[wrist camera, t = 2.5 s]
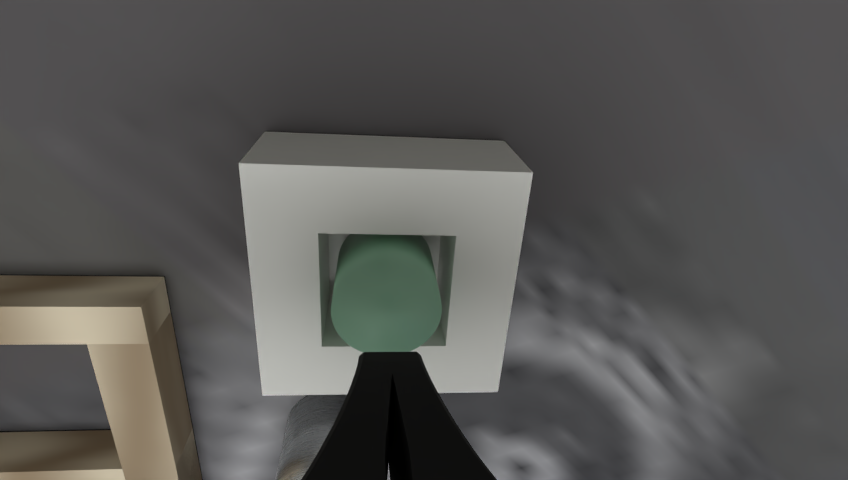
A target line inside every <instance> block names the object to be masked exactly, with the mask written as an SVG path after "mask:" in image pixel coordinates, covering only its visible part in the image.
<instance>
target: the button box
mask: <svg viewBox="0 0 848 480" xmlns="http://www.w3.org/2000/svg"><path fill="white" fill-rule="evenodd" d="M239 172H240V182H241V192H242V202H243V211H244V221H245V231H246V241H247V250H248V260H249V270H250V280H251V289H252V299H253V309H254V319H255V328H256V338H257V348H258V357H259V367H260V377H261V387H262V396H276V395H342V394H348V391H349V389H350V386H351V383H352V381H353V378H354V375H355V372H356V368H357V364H358V359H359V356H360V355H361V354H362V353H363V352H360V351H358V350H356V349H354V348H353V347H351V346H350V345H348V344H347V343H346V342H345V341H344V340H343V339H342V338H341V337H340V336H339V335H338V333H337V331H336V330H335V328H334V325H333V322H332V319H331V303H332V296H333V289H334V282H335V275H336V268H337V261H338V255H339V251H340V248H341V246H342V244H343V242H344V240H345V239H346V238H347V236H348V235H349V234H382V235H422V236H423V237H424V239H425V240H426V242H427V244H428V246H429V248H430V252H431V256H432V261H433V265H434V270H435V275H436V279H437V284H438V288H439V293H440V298H441V303H442V314H441V319H440V322H439V325H438V327H437V329H436V330H435V332H434V333H433V335H432V336H431V337H430V338H429V339H428V340H427V341H426V342H425V343H424V344H422V345H421V346H419V347H418V348H416V349H414V350H412V351H410V352H418V353H419V354H420V355H421V357H422V360H423V362H424V365H425V367H426V369H427V372H428V374H429V376H430V378H431V380H432V382H433V384H434V386H435V388H436V390H437V392H438V393H473V392H498V388H499V381H500V375H501V369H502V363H503V357H504V350H505V344H506V338H507V332H508V326H509V319H510V313H511V307H512V301H513V294H514V288H515V282H516V276H517V270H518V263H519V257H520V251H521V245H522V239H523V232H524V226H525V220H526V214H527V207H528V201H529V195H530V189H531V183H532V176H533V172H532V171H531V170H530V169H529V168H528V166H527V165H526V164H525V163H524V162H523V161H522V160H521V159H520V158H519V156H518V155H517V154H516V153H515V152H514V151H513V150H512V149H511V148H510V146H509V145H508V144H507V143H506V142H505V141H498V140H472V139H446V138H420V137H394V136H368V135H342V134H316V133H290V132H264V133H263V134H262V136H261V137H260V138H259V139H258V140H257V142H256V143H255V144H254V145H253V147H252V148H251V149H250V150H249V151H248V153H247V154H246V155H245V156H244V157H243V159H242V160H241V161H240V162H239Z"/></svg>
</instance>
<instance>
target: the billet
mask: <svg viewBox="0 0 848 480" xmlns="http://www.w3.org/2000/svg"><path fill="white" fill-rule="evenodd" d="M346 396H347V394H342V395H308V396H306V397H305V398H303V399H302V400H300V401H299V402H298V403H297V404H296V405H295V406H294V407H293V409H292V410H291V412H290V415H289V418H288V422H287V427H286V432H285V437H284V441H283V446H282V451H281V456H280V461H279V465H278V470H277V475H276V480H301V479H302V478H303V476H304V474H305V473H306V471H307V470H308V468H309V467H310V465H311V463H312V462H313V460H314V458H315V457H316V455H317V453H318V452H319V450H320V448H321V446H322V444H323V442H324V441H325V439H326V437H327V435H328V433H329V431H330V430H331V428H332V426H333V424H334V422H335V420H336V418H337V416H338V414H339V411H340V409H341V407H342V405H343V403H344V400H345V398H346Z"/></svg>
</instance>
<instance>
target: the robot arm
mask: <svg viewBox="0 0 848 480" xmlns="http://www.w3.org/2000/svg"><path fill="white" fill-rule="evenodd" d="M388 461H389V470H390V479H391V480H497V479H496V478H495V477H494V476H493V474H492V473H491V472H490V471H489V469H488V468H487V467H486V466H485V464H484V463H483V462H482V460H481V459H480V458H479V456H478V455H477V454H476V452H475V451H474V449H473V448H472V446H471V445H470V444H469V442H468V441H467V439H466V438H465V436H464V435H463V433H462V432H461V430H460V429H459V427H458V426H457V424H456V423H455V421H454V419H453V418H452V416H451V414H450V413H449V411H448V409H447V408H446V406H445V404H444V403H443V401H442V399H441V397H440V396H439V394H438V392H437V390H436V388H435V386H434V384H433V382H432V380H431V378H430V376H429V374H428V372H427V369H426V367H425V365H424V362H423V360H422V357H421V355H420V354H419V353H418V352H363V353H362V354H361V355H360V356H359V359H358V364H357V368H356V372H355V375H354V378H353V381H352V383H351V386H350V389H349V391H348V394H347V396H346V398H345V400H344V403H343V405H342V407H341V409H340V411H339V414H338V416H337V418H336V420H335V422H334V424H333V426H332V428H331V430H330V431H329V433H328V435H327V437H326V439H325V441H324V442H323V444H322V446H321V448H320V450H319V452H318V453H317V455H316V457H315V458H314V460H313V462H312V463H311V465H310V467H309V468H308V470H307V471H306V473H305V474H304V476H303V478H302V479H301V480H387V474H388Z"/></svg>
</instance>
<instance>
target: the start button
mask: <svg viewBox="0 0 848 480" xmlns="http://www.w3.org/2000/svg"><path fill="white" fill-rule="evenodd" d="M441 314H442V303H441V298H440V293H439V288H438V284H437V279H436V275H435V270H434V265H433V261H432V256H431V252H430V248H429V246H428V244H427V242H426V240H425V239H424V237H423V236H422V235H382V234H349V235H348V236H347V238H346V239H345V240H344V242H343V244H342V246H341V248H340V251H339V255H338V261H337V268H336V275H335V282H334V289H333V296H332V303H331V319H332V322H333V325H334V328H335V330H336V331H337V333H338V335H339V336H340V337H341V338H342V339H343V340H344V341H345V342H346V343H347V344H348V345H350V346H351V347H353V348H354V349H356V350H358V351H360V352H410V351H412V350H414V349H416V348H418V347H419V346H421V345H422V344H424V343H425V342H426V341H427V340H428V339H429V338H430V337H431V336H432V335H433V333H434V332H435V330H436V329H437V327H438V325H439V322H440V319H441Z"/></svg>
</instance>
